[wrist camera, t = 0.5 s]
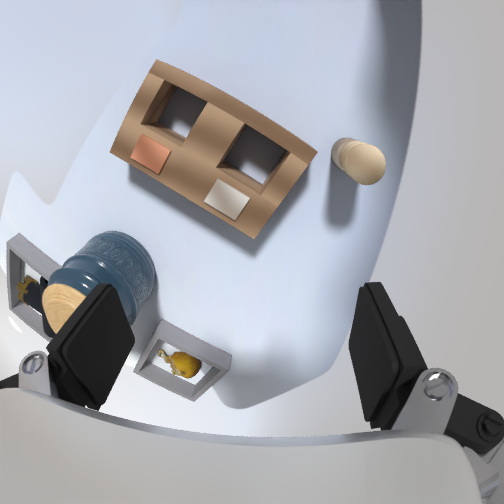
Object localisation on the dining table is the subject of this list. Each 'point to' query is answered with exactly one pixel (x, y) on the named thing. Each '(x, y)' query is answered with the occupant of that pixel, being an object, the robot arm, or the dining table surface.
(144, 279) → the canister
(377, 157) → the peg
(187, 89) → the socket block
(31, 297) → the pipe connector
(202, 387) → the fruit corral
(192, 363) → the fruit
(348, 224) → the dining table surface
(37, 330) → the tray
